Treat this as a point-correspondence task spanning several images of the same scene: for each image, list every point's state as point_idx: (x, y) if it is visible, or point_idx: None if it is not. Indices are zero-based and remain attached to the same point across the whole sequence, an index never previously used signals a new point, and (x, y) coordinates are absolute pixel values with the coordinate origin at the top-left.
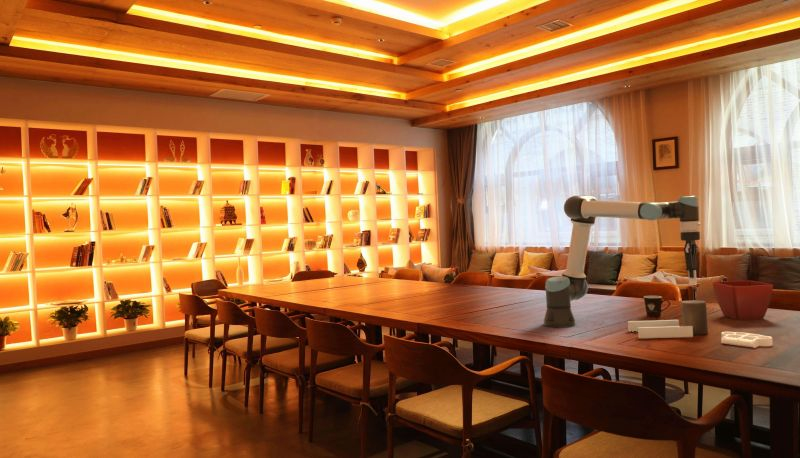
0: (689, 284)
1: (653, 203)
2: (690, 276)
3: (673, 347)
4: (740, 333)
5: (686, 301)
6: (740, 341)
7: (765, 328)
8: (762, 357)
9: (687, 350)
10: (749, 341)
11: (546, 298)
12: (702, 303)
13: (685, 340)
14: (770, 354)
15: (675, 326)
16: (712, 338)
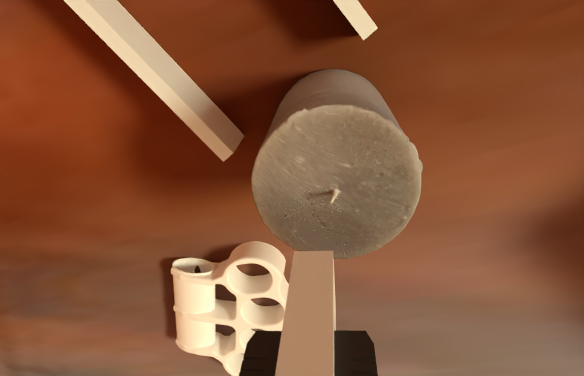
0: (294, 259)
1: None
2: (247, 354)
3: (7, 143)
4: (282, 305)
5: (319, 146)
6: (176, 317)
7: (555, 318)
8: (94, 360)
9: (7, 196)
10: (181, 339)
11: None
12: (298, 249)
13: (149, 140)
14: (140, 369)
15: (168, 93)
16: (252, 212)
